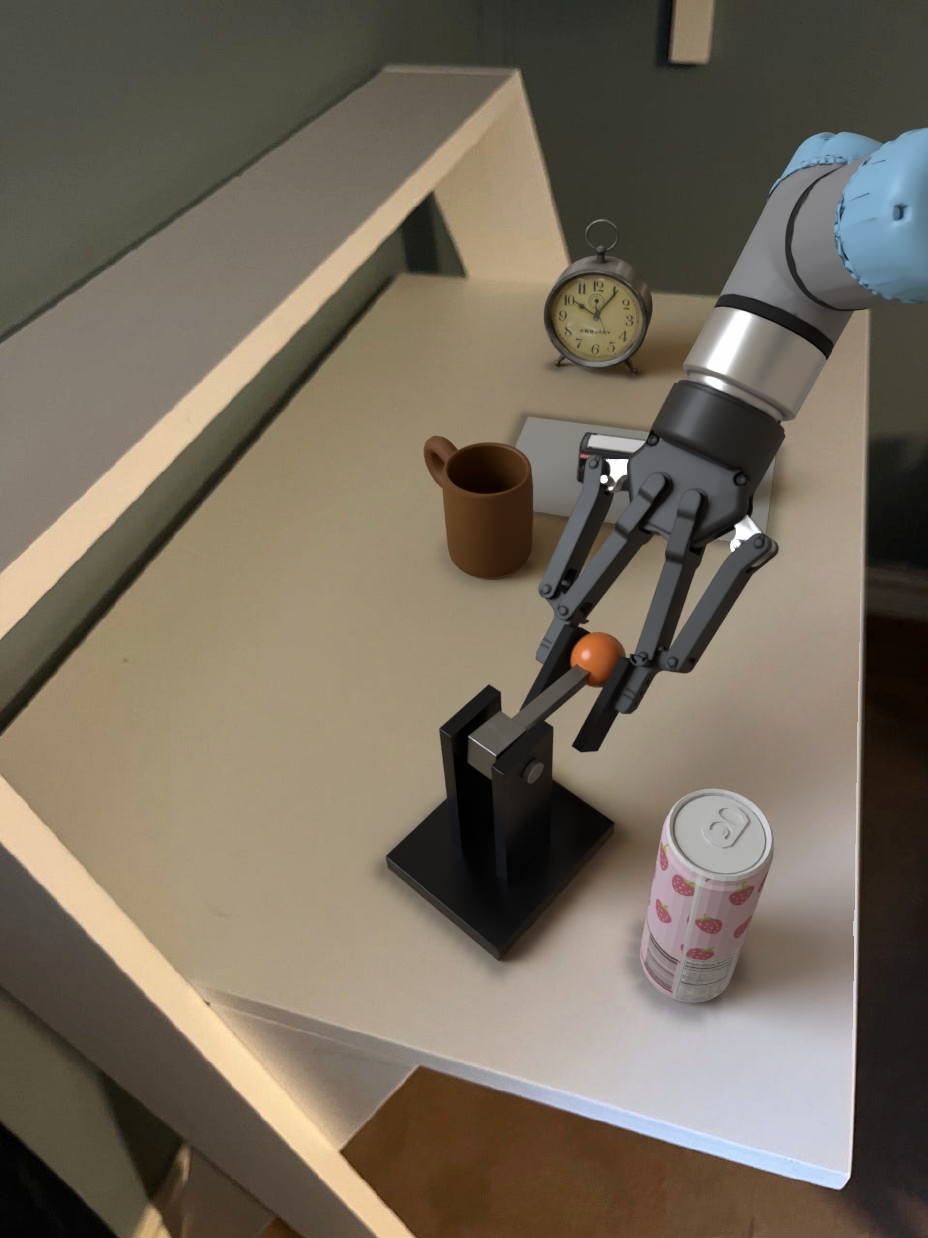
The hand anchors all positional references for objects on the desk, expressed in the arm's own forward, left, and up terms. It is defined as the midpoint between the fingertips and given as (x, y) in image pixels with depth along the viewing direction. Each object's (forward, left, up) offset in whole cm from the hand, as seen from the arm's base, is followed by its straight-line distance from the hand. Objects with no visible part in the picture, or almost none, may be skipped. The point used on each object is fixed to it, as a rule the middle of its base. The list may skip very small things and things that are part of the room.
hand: (558, 730), depth 63 cm
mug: (+25, -12, -8) cm, 29 cm away
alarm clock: (+39, -40, -8) cm, 56 cm away
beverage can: (-14, +2, -8) cm, 16 cm away
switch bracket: (-1, +6, -7) cm, 10 cm away
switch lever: (0, +1, +2) cm, 2 cm away
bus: (+22, -30, -8) cm, 38 cm away
